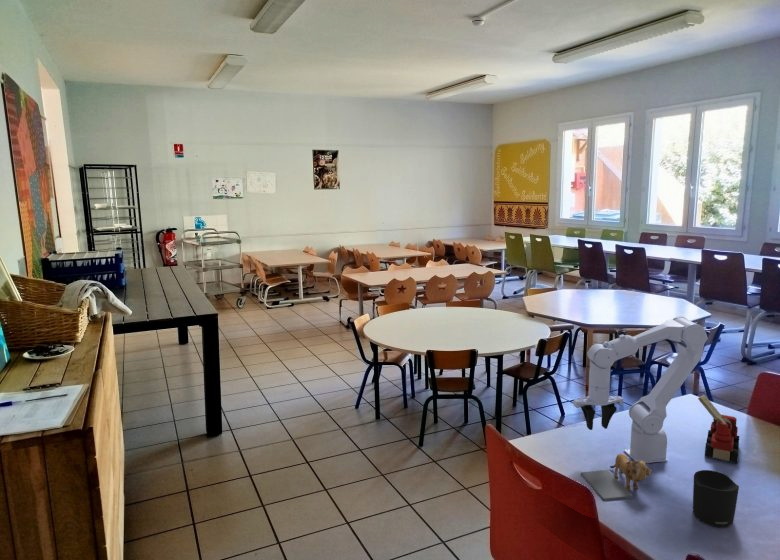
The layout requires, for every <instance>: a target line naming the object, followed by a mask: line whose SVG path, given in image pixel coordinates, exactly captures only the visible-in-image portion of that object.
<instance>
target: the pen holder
mask: <svg viewBox="0 0 780 560" xmlns="http://www.w3.org/2000/svg"><path fill="white" fill-rule="evenodd" d="M739 488H740V486H739V484H737V483H736V482H735V481H734V480H732V479H731V477H729V476H728V475H727V474H725V473H722V472H720V471H716V470H713V469H712V470H709V469H702V470H697V471H696V472H695V473H694V474H693V489H692V513H693V515H694V517H696V519H697V520H698V521H700V522H701V523H703V524H706V525H708V526H711V527H715V528H728V527H730V526H732V524H733V523H734V521H735V514H736V508H737V501H738V497H739V496H738V494H739Z"/></svg>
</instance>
